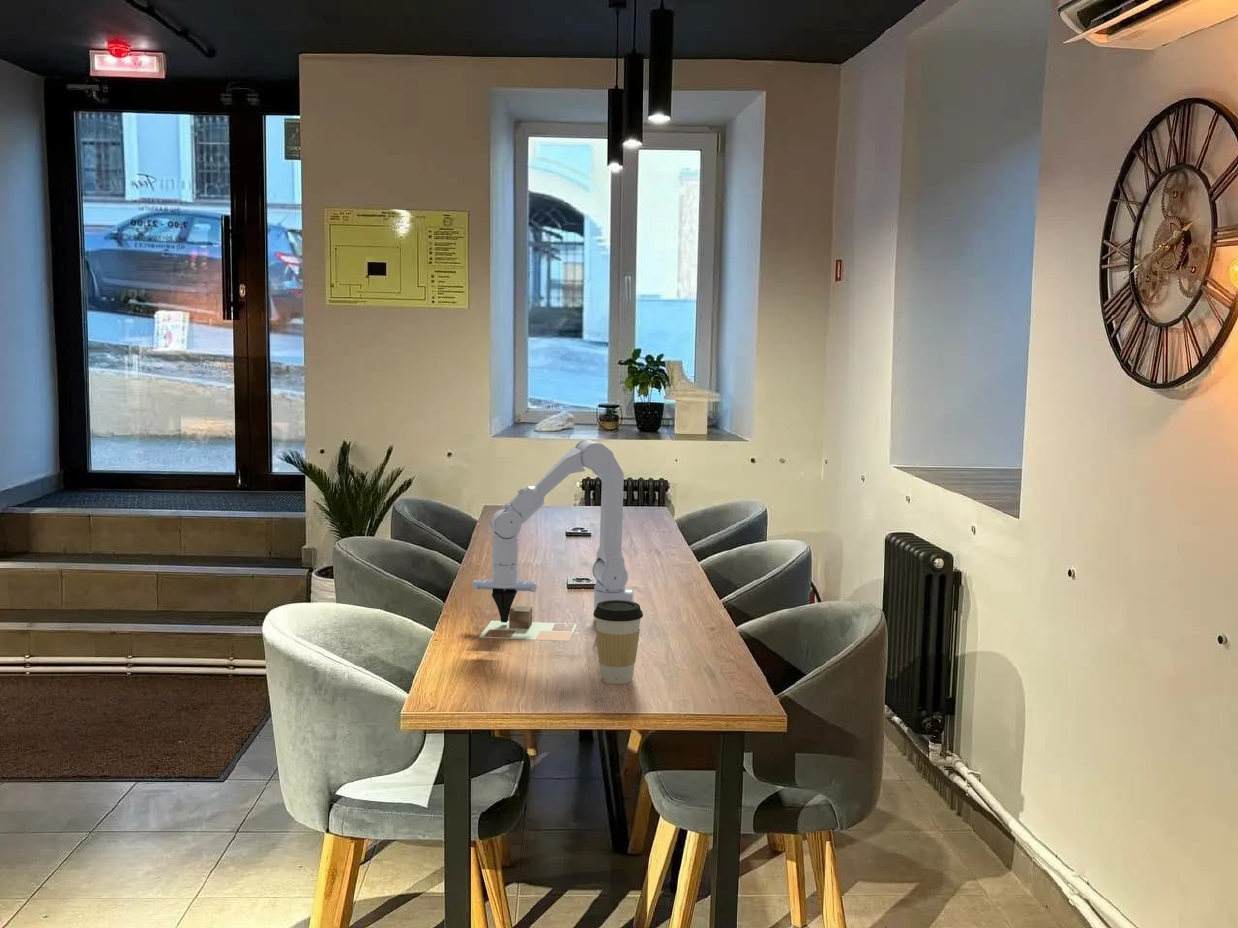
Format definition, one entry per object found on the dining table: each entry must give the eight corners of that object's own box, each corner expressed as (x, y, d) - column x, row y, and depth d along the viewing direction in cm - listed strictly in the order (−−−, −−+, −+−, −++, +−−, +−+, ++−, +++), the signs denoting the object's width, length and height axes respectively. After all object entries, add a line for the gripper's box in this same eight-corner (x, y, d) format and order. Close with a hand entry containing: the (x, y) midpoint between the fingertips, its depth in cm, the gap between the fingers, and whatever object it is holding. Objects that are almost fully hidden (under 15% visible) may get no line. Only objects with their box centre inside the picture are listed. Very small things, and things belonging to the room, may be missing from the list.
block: (532, 623, 244) (532, 606, 243) (528, 628, 239) (529, 611, 239) (512, 622, 244) (512, 605, 244) (509, 627, 240) (509, 610, 239)
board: (576, 630, 244) (576, 623, 244) (569, 647, 231) (569, 640, 230) (491, 626, 246) (491, 620, 246) (478, 643, 232) (478, 637, 232)
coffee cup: (640, 671, 215) (641, 599, 213) (642, 687, 205) (644, 611, 203) (591, 671, 215) (593, 598, 213) (592, 686, 205) (593, 611, 203)
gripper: (539, 560, 244) (538, 617, 245) (477, 558, 245) (477, 615, 246) (534, 566, 237) (533, 626, 238) (470, 564, 238) (470, 623, 239)
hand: (504, 621), depth 242 cm, fingers closed
